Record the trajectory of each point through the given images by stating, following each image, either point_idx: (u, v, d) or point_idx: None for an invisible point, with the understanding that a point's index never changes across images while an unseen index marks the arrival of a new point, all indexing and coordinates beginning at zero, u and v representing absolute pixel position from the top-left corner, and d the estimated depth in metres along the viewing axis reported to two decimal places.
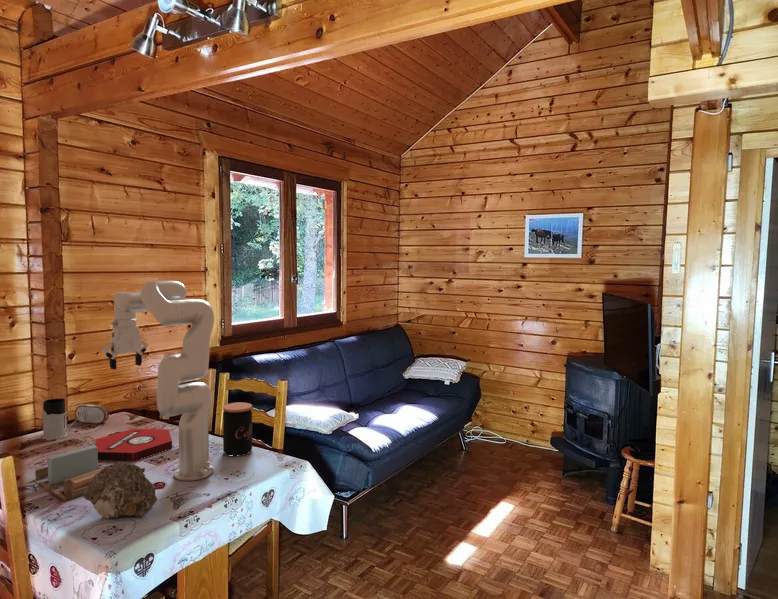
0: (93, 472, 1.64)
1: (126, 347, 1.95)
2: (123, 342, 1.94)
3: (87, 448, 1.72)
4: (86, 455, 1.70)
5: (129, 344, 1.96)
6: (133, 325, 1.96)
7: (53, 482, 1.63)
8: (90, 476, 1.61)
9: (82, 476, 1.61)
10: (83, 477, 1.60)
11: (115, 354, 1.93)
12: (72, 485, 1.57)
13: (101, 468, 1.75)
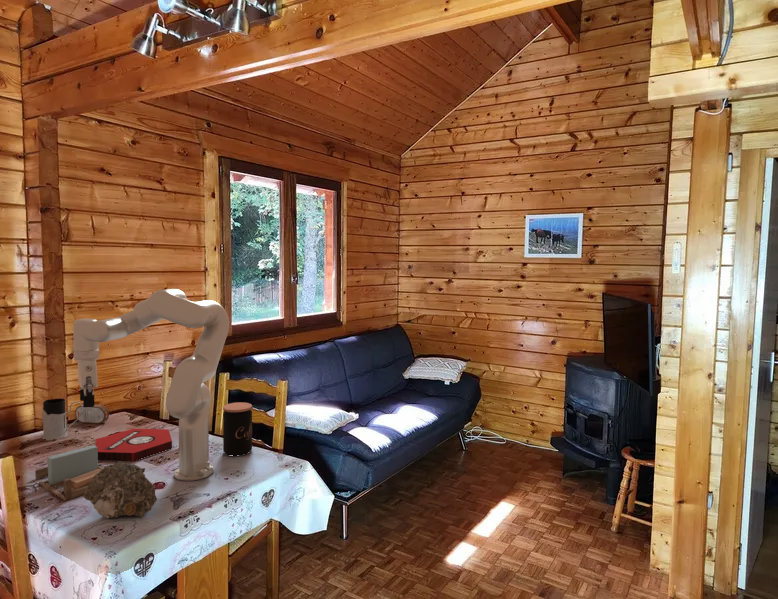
0: (93, 472, 1.64)
1: None
2: None
3: (87, 448, 1.72)
4: (86, 455, 1.70)
5: None
6: None
7: (53, 482, 1.63)
8: (91, 476, 1.62)
9: (82, 476, 1.61)
10: (83, 477, 1.61)
11: (93, 389, 1.72)
12: (73, 485, 1.57)
13: (101, 468, 1.75)
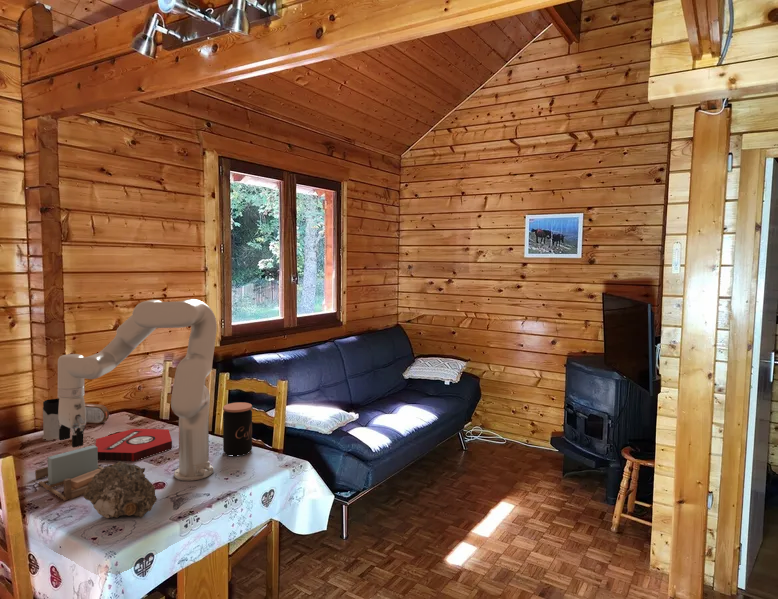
0: (92, 472, 1.64)
1: None
2: None
3: (87, 448, 1.72)
4: (86, 455, 1.70)
5: None
6: None
7: (53, 482, 1.63)
8: (91, 476, 1.62)
9: (82, 476, 1.61)
10: (83, 477, 1.61)
11: None
12: (73, 485, 1.57)
13: (101, 468, 1.75)
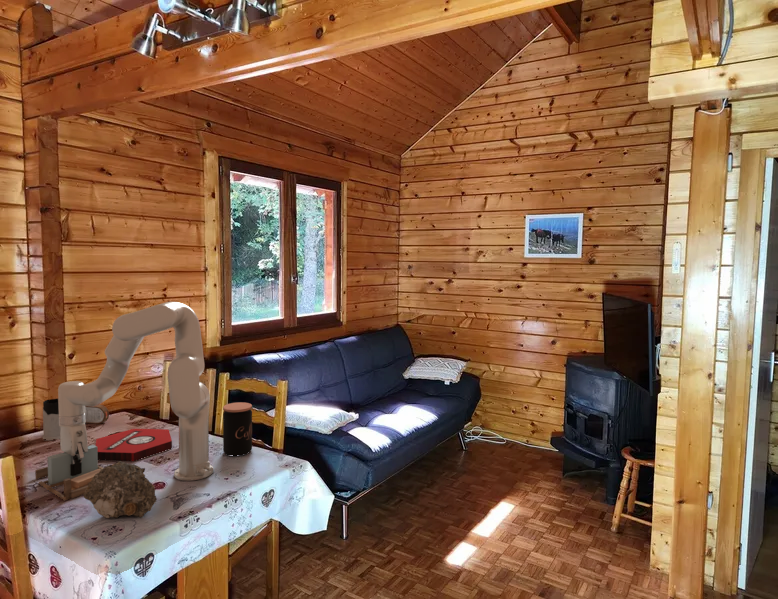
0: (93, 472, 1.65)
1: None
2: None
3: None
4: (86, 454, 1.70)
5: None
6: None
7: (53, 482, 1.63)
8: (91, 476, 1.62)
9: (83, 476, 1.61)
10: (84, 477, 1.61)
11: None
12: (74, 485, 1.58)
13: (101, 468, 1.75)
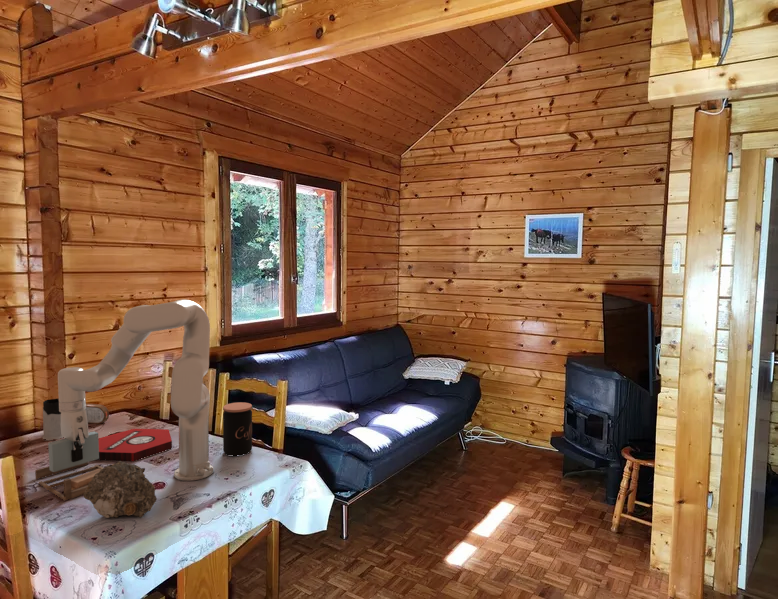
0: (92, 472, 1.65)
1: None
2: None
3: None
4: (86, 441, 1.70)
5: None
6: None
7: (54, 468, 1.62)
8: (91, 476, 1.62)
9: (82, 476, 1.62)
10: (83, 477, 1.61)
11: None
12: (73, 485, 1.58)
13: (101, 468, 1.75)
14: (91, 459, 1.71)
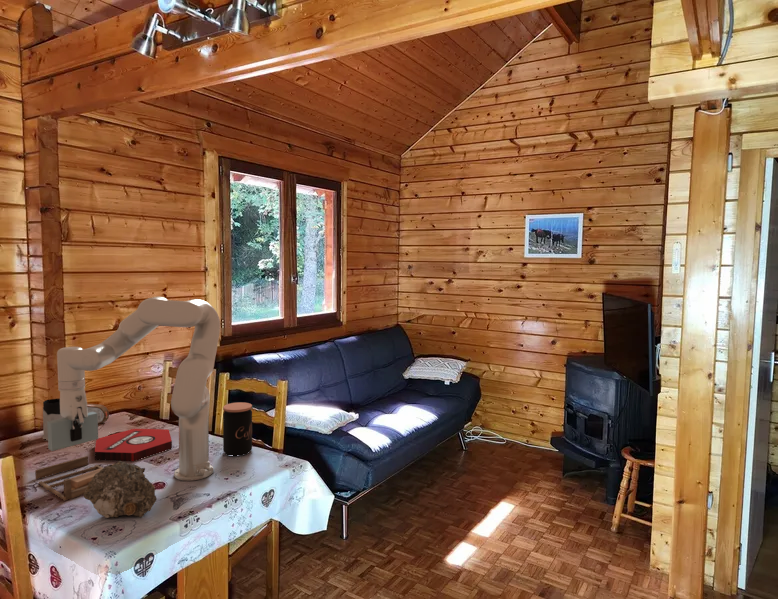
0: (94, 472, 1.65)
1: None
2: None
3: None
4: (86, 420, 1.69)
5: None
6: None
7: (53, 446, 1.62)
8: (91, 475, 1.62)
9: (83, 475, 1.62)
10: (84, 476, 1.61)
11: None
12: (73, 484, 1.58)
13: (101, 468, 1.75)
14: (90, 439, 1.71)
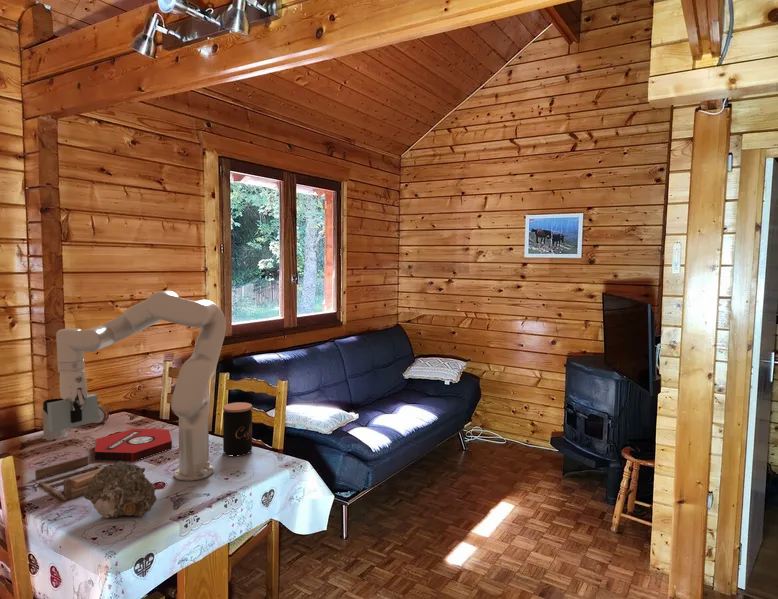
0: (94, 471, 1.65)
1: None
2: None
3: None
4: (86, 402, 1.69)
5: None
6: None
7: (53, 428, 1.61)
8: (91, 475, 1.62)
9: (83, 475, 1.62)
10: (84, 476, 1.61)
11: None
12: (74, 484, 1.58)
13: (101, 468, 1.75)
14: (90, 421, 1.70)
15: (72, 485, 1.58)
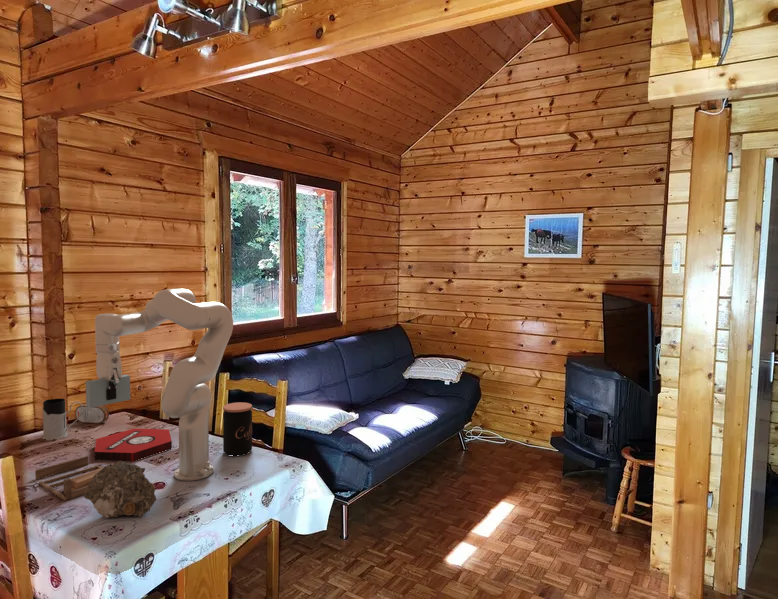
0: (93, 472, 1.65)
1: None
2: None
3: None
4: (119, 382, 1.84)
5: None
6: None
7: (91, 404, 1.76)
8: (91, 476, 1.62)
9: (83, 476, 1.61)
10: (84, 477, 1.61)
11: None
12: (74, 485, 1.58)
13: (101, 468, 1.75)
14: (123, 399, 1.85)
15: (72, 485, 1.58)
